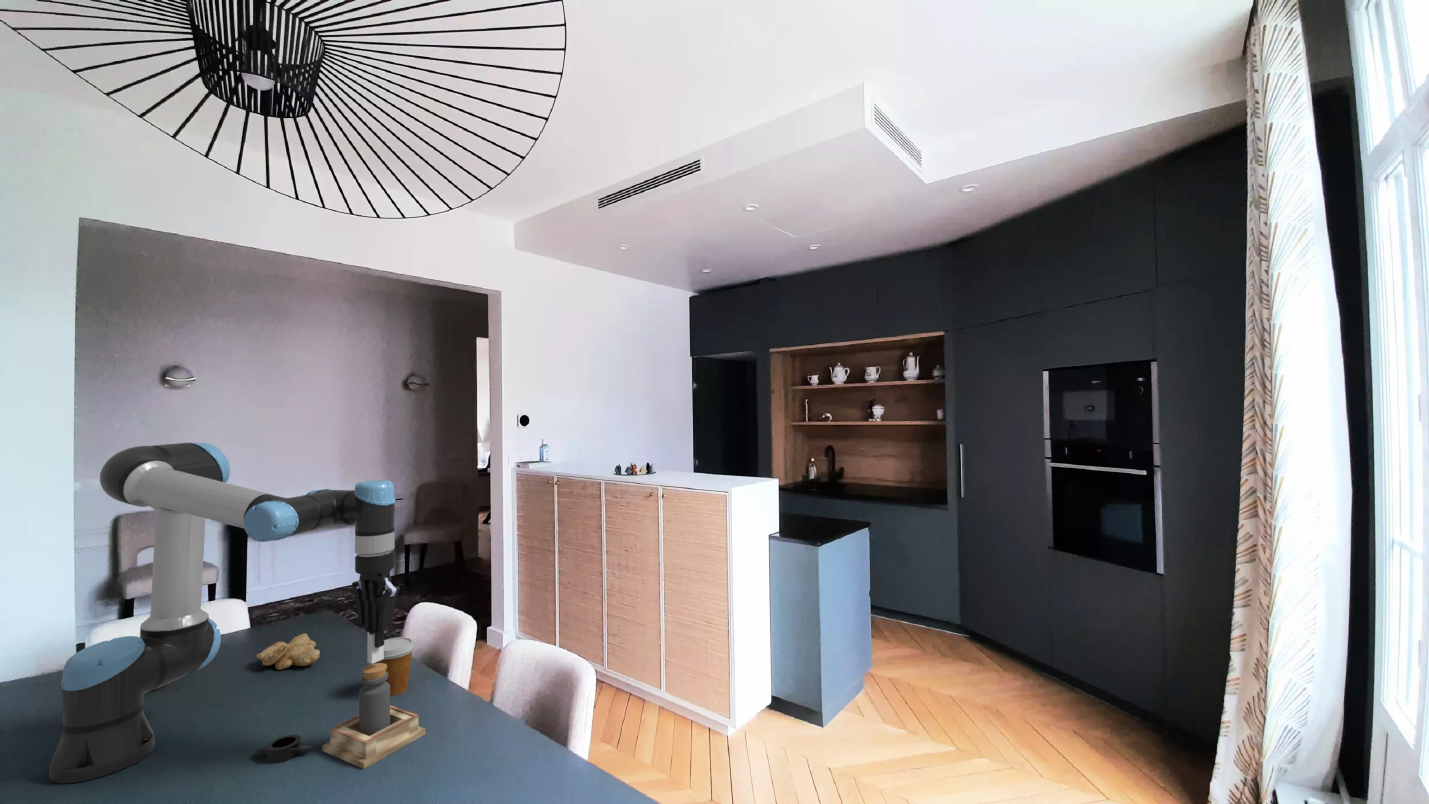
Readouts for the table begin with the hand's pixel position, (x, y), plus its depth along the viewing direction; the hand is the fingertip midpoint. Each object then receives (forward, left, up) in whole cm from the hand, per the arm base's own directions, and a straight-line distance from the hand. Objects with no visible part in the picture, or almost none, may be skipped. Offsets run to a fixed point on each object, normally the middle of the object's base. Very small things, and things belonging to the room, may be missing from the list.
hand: (375, 660), depth 128 cm
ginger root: (-60, +14, -18) cm, 64 cm away
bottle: (0, 0, -17) cm, 17 cm away
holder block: (0, 0, -18) cm, 18 cm away
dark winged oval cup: (-13, -11, -18) cm, 25 cm away
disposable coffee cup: (-18, +17, -18) cm, 31 cm away
